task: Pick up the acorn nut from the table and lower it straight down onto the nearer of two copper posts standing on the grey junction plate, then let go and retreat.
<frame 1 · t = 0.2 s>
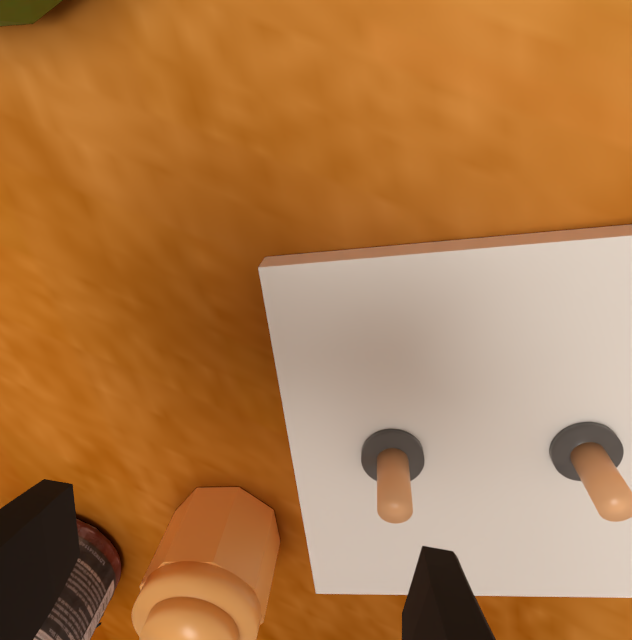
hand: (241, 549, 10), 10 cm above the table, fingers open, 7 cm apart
supplement bottle: (72, 548, 26), on the table
junction plate: (466, 432, 20), on the table
acorn nut: (227, 526, 24), on the table
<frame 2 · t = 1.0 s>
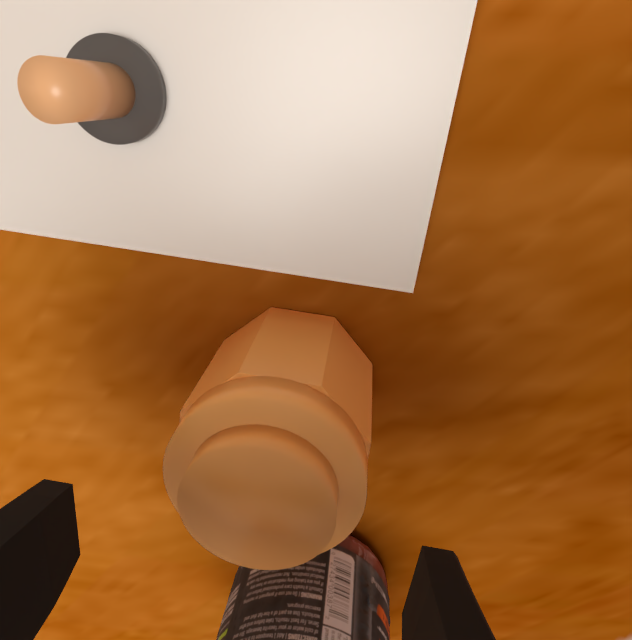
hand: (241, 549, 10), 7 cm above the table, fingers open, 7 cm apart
supplement bottle: (314, 566, 20), on the table
acorn nut: (294, 378, 16), on the table
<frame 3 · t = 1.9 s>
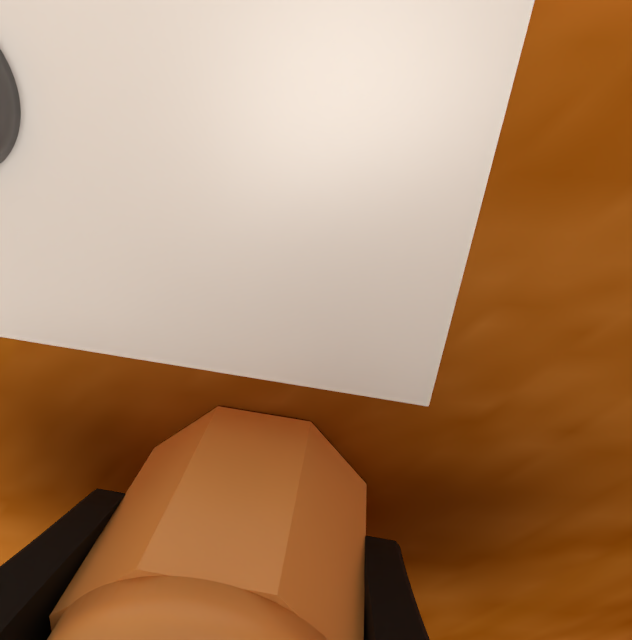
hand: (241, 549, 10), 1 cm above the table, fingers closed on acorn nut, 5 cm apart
acorn nut: (256, 499, 12), on the table, touching gripper
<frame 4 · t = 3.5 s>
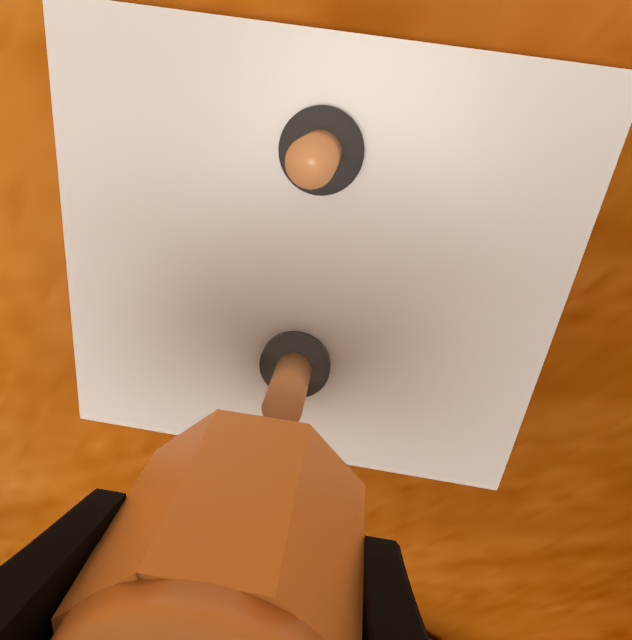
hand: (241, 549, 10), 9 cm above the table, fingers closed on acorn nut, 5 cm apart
junction plate: (310, 269, 17), on the table
acorn nut: (256, 500, 12), point 7 cm above the table, touching gripper
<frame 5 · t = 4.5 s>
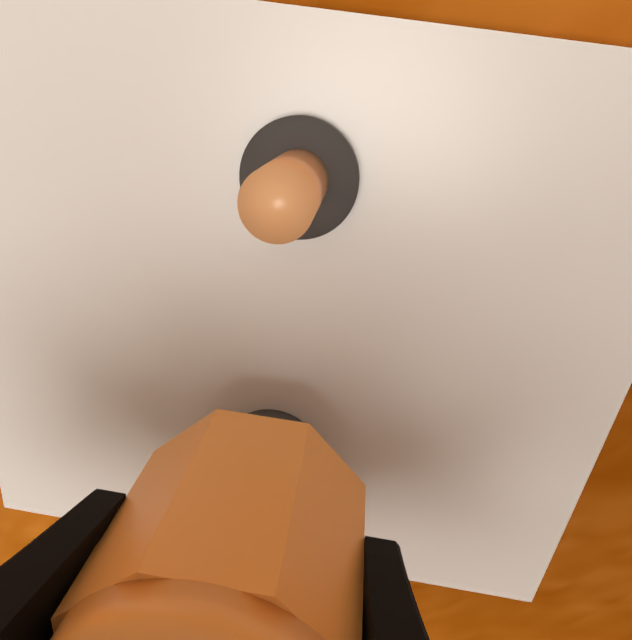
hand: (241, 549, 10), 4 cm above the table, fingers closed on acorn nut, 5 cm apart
junction plate: (290, 326, 13), on the table
acorn nut: (256, 500, 12), point 3 cm above the table, touching gripper
when the fingers open (4 cm above the table, at t = 5.2 s): acorn nut drops 1 cm, resting on junction plate.
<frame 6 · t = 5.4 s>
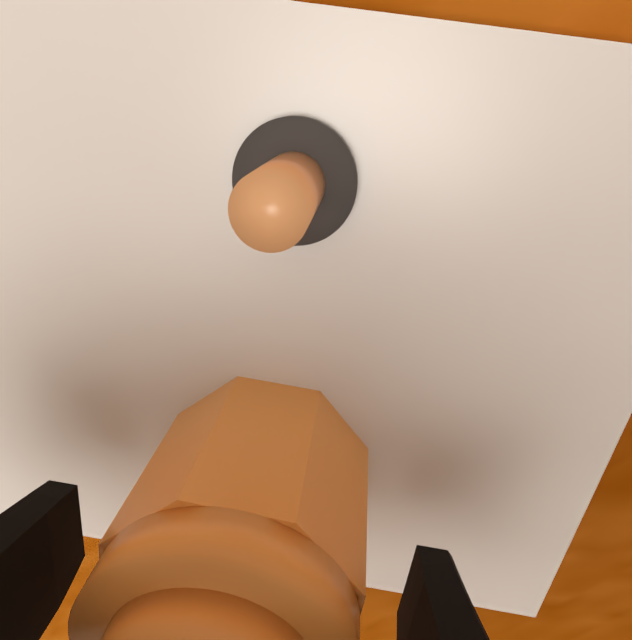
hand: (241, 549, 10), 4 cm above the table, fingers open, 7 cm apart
junction plate: (286, 334, 13), on the table
acorn nut: (268, 462, 13), point 1 cm above the table, touching junction plate
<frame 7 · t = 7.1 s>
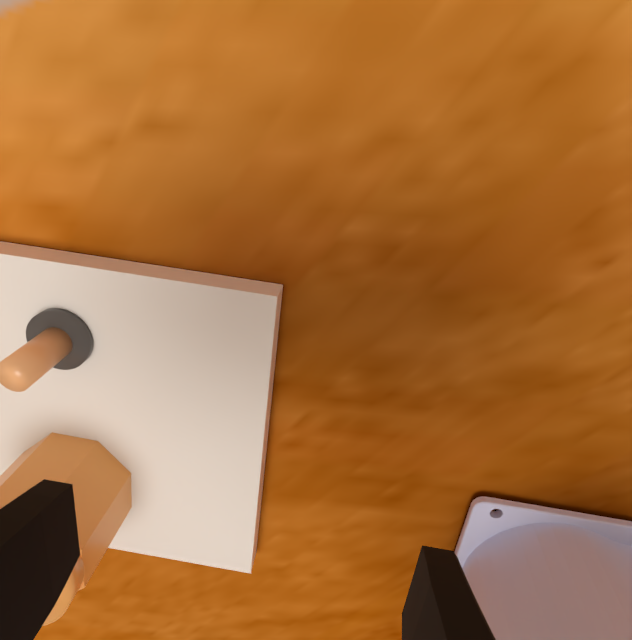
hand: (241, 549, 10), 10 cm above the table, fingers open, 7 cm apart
junction plate: (87, 406, 22), on the table
acorn nut: (78, 480, 22), point 1 cm above the table, touching junction plate
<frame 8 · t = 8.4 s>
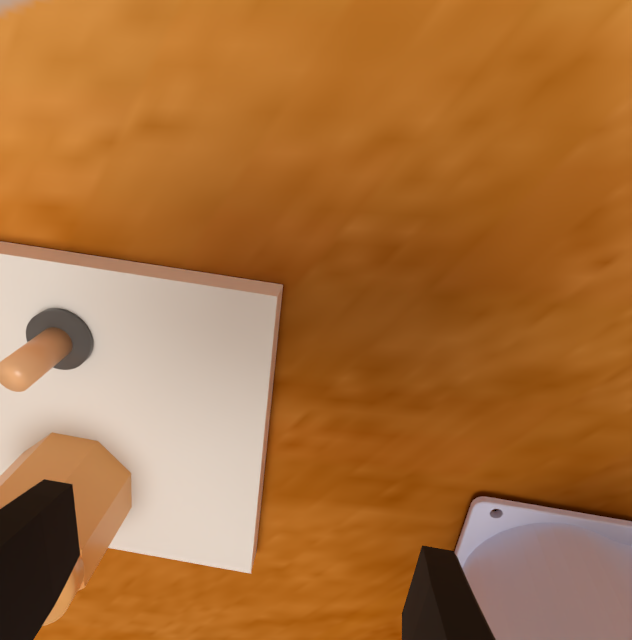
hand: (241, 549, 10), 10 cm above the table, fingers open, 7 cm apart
junction plate: (87, 406, 22), on the table
acorn nut: (78, 480, 22), point 1 cm above the table, touching junction plate
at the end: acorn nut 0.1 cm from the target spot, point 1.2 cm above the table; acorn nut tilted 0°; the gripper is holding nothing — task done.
